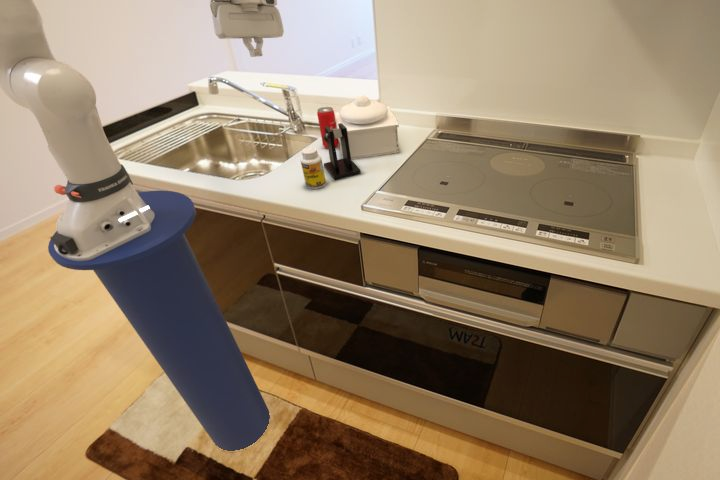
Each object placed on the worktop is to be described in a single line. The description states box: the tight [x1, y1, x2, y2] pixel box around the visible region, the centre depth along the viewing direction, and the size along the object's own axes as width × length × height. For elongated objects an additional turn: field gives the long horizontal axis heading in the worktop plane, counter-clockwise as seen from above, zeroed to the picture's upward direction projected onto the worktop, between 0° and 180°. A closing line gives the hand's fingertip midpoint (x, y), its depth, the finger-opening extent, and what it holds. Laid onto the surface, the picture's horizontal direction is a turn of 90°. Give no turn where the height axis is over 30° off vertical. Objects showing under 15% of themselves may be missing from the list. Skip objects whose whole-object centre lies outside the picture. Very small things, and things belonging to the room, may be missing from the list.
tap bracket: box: [323, 123, 362, 181], centre depth 117 cm, size 10×8×13 cm
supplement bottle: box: [300, 146, 327, 190], centre depth 111 cm, size 6×6×10 cm
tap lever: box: [324, 128, 342, 143], centre depth 118 cm, size 13×3×3 cm, turn 26°
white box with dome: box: [334, 94, 400, 160], centre depth 128 cm, size 18×18×16 cm
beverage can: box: [316, 106, 340, 150], centre depth 131 cm, size 5×5×12 cm
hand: (256, 56), depth 115 cm, fingers closed
